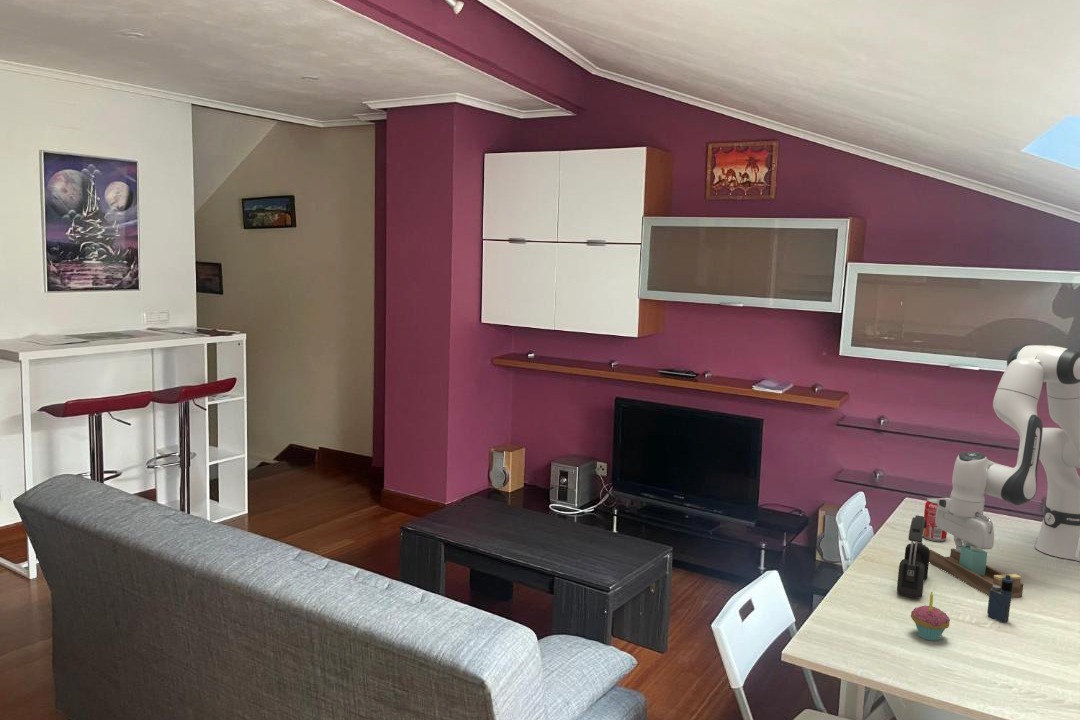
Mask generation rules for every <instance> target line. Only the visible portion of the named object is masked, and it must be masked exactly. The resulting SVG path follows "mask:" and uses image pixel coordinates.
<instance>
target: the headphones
mask: <svg viewBox="0 0 1080 720" xmlns="http://www.w3.org/2000/svg"><path fill="white" fill-rule="evenodd" d="M926 525H927V522H926V519H924V515H923V516H922V515H919V514H918V515H915V517H912V519H911V523H910V527H909V531H908V541H910V542H911V543H907V544H906V546H905V551H904V559H901V560H900V562H899V565H898V575H897V583H896V584H897V585H896V586H897V587H896V591H897V592H896V593H897V594H898V595H901V596H904V597H908V598H913V599H920V598H922V596H923V592H924V584H925V583H924V582H925V580H926V579H927V578H928V576H929V574H928V573H929V564H930V563H929V556H930V550H931V549H930V548H929V547H928V546H926V544H924V543H923V537H924V536H923V530H924V528H926Z"/></svg>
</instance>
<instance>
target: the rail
mask: <svg viewBox="0 0 1080 720" xmlns="http://www.w3.org/2000/svg"><path fill="white" fill-rule="evenodd" d="M929 550H930V556H929V562H930V563H929V564H930V565H932V564H933V566H934V565H935V566H934V567H936V568H938V569H940V570H941V569H942V571H943V570H944V571H943V572H945V571H946V572H945V573H947V572H948V573H947V574H949V575H950V574H951V576H952V575H953V577H954V576H955V577H954V578H956V579H958V578H959V579H960V580H959V579H958V580H959V581H961V580H962V581H961V582H963V581H964V582H963V583H965V582H966V583H965V584H966V585H968V584H969V586H970V585H971V586H970V587H972V586H973V587H972V588H974V589H975V588H976V589H975V590H977V589H978V590H977V591H979V590H980V591H979V592H982V593H983V594H984V593H985V595H986V594H987V596H988V597H989V593H990V590H991V589H992V585H998V586H1000V587H1002V578H1006V575H1009V576H1011V577H1010V579H1012V580H1013V585H1012V594H1011V595H1012V596H1011V599H1012V598H1022V597H1023V592H1024V583H1022V576H1020V575H1019V574H1017V573H1011V574H1010V573H1009V574H1005V573H1002V572H1001V571H1000V570H997V569H995V568H993V567H992V566H989V565H987V564H986V570H985V576H980V575H978V574H976V573H974V572H972V571H970V570H968V569H967V568H965V567H963V566H961V565H959V561H960V553H959V552H957V551H956V548H950V554H949V556H944V555H942V554H940V553H938V552H936V551H934V550H933V549H929Z"/></svg>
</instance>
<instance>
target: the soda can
mask: <svg viewBox="0 0 1080 720" xmlns="http://www.w3.org/2000/svg"><path fill="white" fill-rule="evenodd" d="M938 499H939V497H938V498H937V497H927V498H926V502H924V503H925V505H924V511H923V512H924V514H923V517H924V519H926V522H927V525H926V528H924V530H923V536H922V537H923V538H924V539H926V540H928V541H932V542H936V541H937V542H938V543H939V542H940V541H941V542H944V541H945V540H946V539H947V536H948V535H947V534H948V533H947V532H945V531H943V530H941V529H939V528H937V526H936V523H935V519H936V511H937V507H938V506H939V505H938V504H937V500H938ZM941 542H940V543H941Z"/></svg>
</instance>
